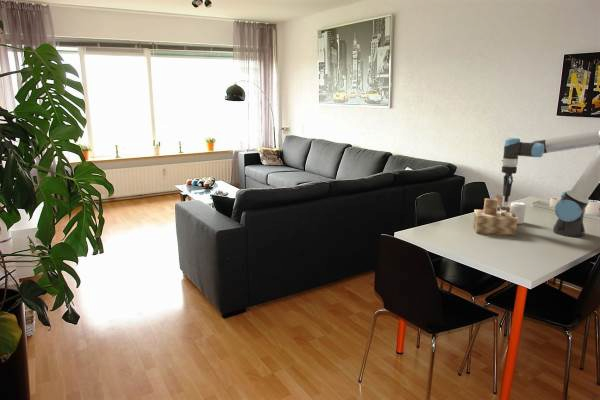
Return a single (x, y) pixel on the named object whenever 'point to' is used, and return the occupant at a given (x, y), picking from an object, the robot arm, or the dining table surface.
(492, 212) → the lid
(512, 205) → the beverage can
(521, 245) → the dining table surface
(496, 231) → the wicker basket
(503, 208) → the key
